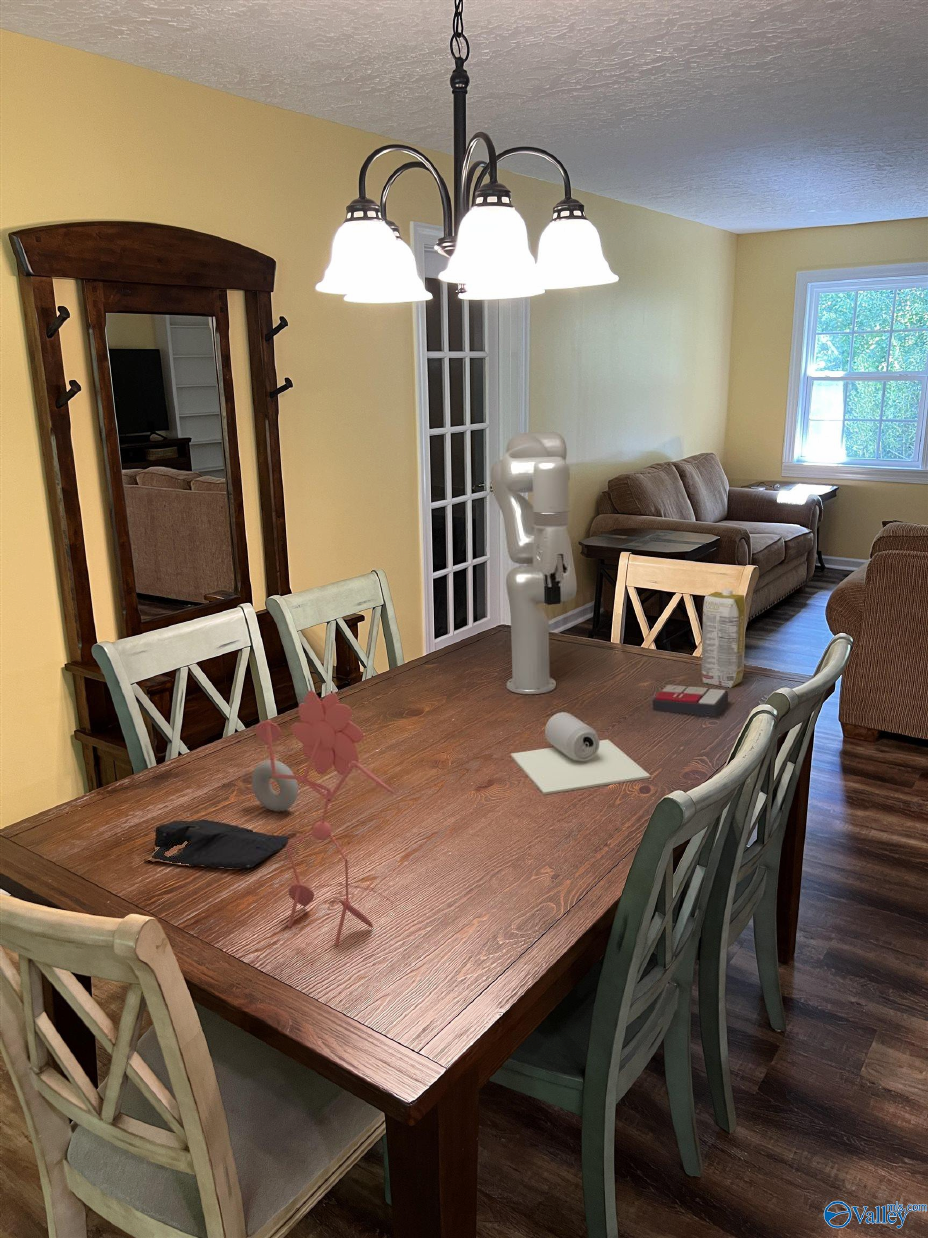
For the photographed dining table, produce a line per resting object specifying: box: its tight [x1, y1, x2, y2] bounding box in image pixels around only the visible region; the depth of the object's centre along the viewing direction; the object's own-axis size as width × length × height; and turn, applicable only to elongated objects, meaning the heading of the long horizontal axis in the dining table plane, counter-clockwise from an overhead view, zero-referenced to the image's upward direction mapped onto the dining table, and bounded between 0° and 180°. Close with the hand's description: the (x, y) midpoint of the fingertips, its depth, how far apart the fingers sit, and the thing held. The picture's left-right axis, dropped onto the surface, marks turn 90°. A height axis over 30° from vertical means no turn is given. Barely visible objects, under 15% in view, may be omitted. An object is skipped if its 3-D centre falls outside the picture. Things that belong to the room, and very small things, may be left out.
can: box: [544, 711, 600, 761], centre depth 189 cm, size 8×8×12 cm
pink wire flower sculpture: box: [254, 690, 395, 961], centre depth 132 cm, size 15×26×35 cm, turn 56°
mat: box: [510, 739, 651, 796], centre depth 185 cm, size 20×22×1 cm
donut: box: [251, 759, 299, 812], centre depth 169 cm, size 10×4×10 cm, turn 63°
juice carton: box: [701, 588, 747, 688], centre depth 229 cm, size 9×8×24 cm
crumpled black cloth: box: [152, 819, 290, 869], centre depth 156 cm, size 15×22×5 cm
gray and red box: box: [652, 684, 729, 719], centre depth 215 cm, size 11×4×15 cm
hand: (552, 603), depth 198 cm, fingers closed
